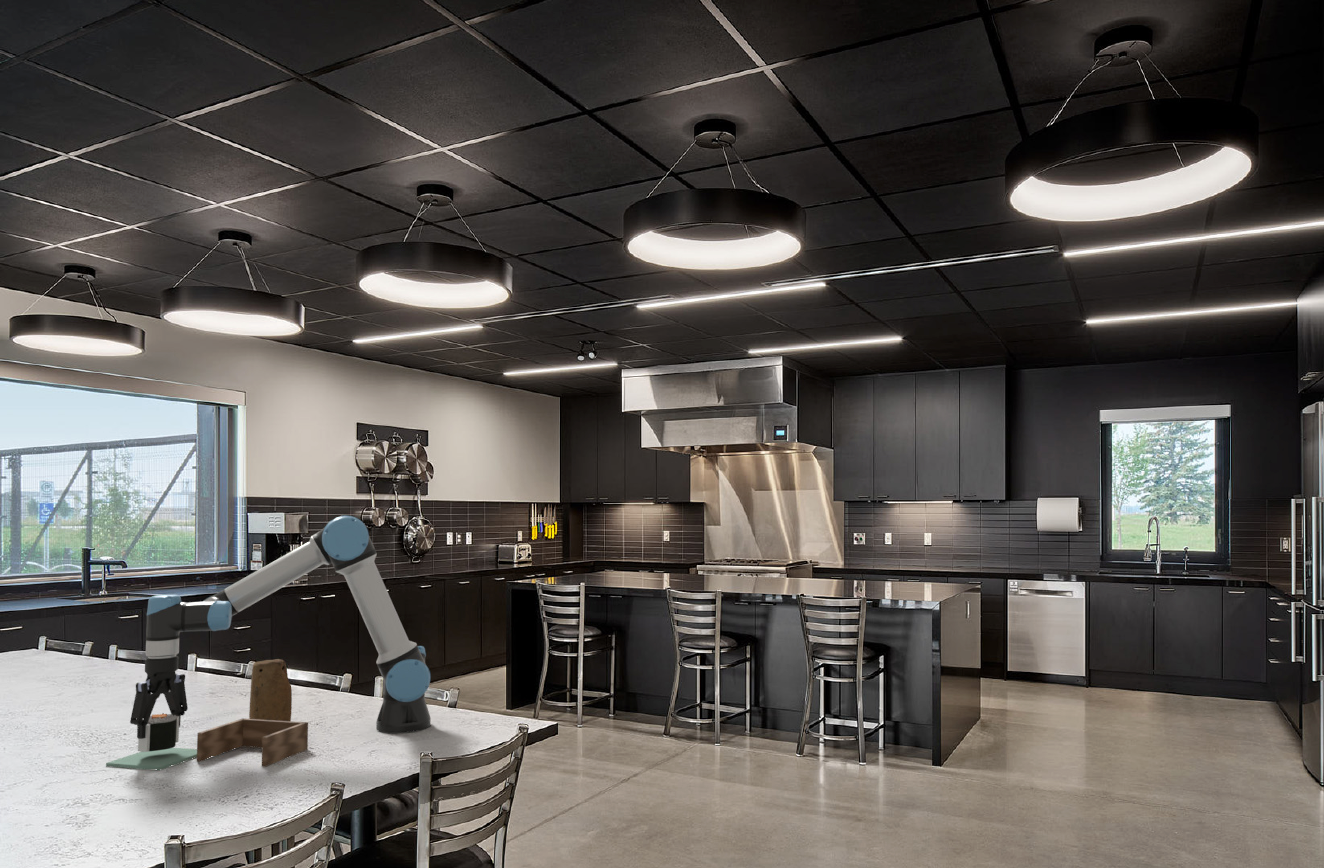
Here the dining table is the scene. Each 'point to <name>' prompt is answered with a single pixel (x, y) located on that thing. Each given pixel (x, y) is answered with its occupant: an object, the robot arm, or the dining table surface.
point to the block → (270, 691)
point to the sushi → (162, 731)
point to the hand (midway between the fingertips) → (158, 746)
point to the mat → (155, 759)
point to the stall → (255, 738)
